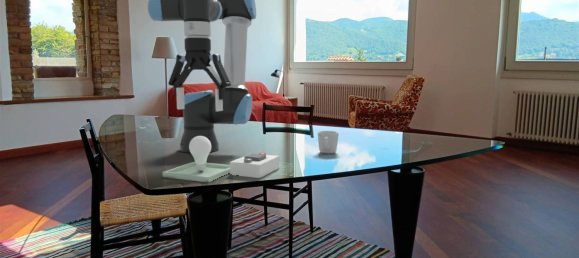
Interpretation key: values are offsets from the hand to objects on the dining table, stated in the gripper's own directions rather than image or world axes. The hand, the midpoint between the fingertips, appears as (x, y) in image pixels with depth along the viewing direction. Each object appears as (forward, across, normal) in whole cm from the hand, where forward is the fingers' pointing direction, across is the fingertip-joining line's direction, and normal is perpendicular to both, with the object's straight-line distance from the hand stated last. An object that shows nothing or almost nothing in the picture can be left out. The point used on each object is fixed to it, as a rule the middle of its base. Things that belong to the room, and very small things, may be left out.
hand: (199, 110), depth 126 cm
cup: (+20, +26, +46) cm, 56 cm away
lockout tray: (+19, 0, 0) cm, 19 cm away
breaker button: (+18, +14, +9) cm, 25 cm away
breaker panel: (+20, +14, +9) cm, 26 cm away
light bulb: (+19, 0, 0) cm, 19 cm away
